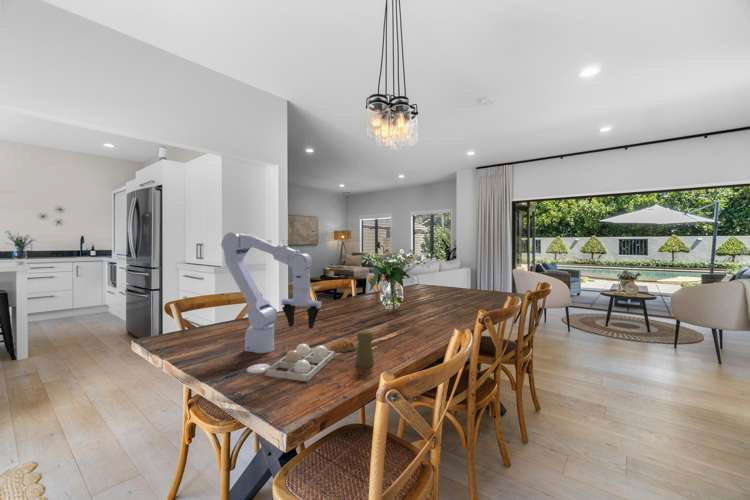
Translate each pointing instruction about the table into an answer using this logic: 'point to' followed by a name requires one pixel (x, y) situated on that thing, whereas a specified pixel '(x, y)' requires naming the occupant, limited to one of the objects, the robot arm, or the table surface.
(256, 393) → the table surface
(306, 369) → the white egg
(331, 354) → the egg carton
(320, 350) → the white egg
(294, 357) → the brown egg
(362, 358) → the olive green pepper mill
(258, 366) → the saucer
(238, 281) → the robot arm
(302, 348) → the white egg
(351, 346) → the pastry
